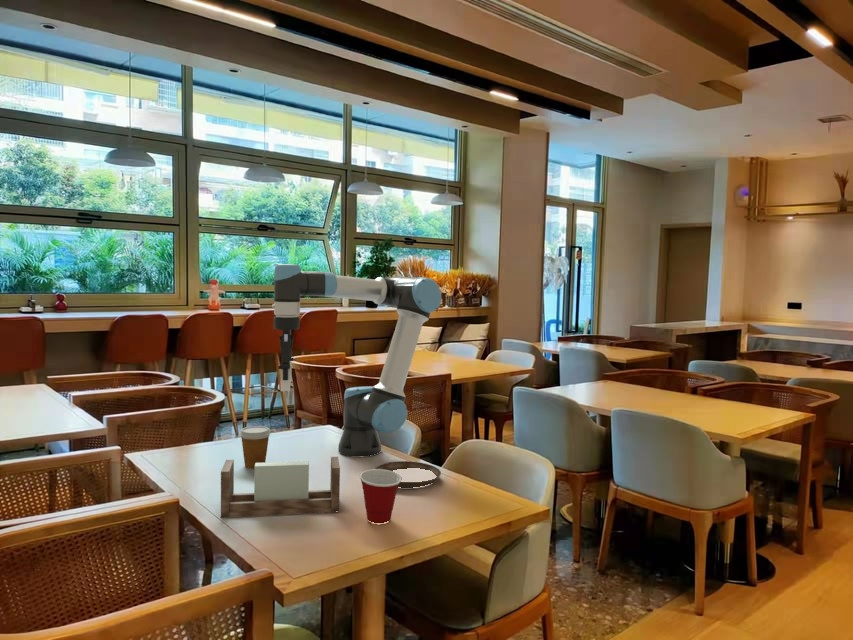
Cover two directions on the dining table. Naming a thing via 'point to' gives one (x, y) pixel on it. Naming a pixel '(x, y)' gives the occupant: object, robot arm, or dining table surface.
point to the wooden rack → (248, 507)
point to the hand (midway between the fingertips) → (286, 386)
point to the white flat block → (281, 481)
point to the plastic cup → (379, 493)
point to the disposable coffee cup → (254, 445)
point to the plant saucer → (409, 464)
